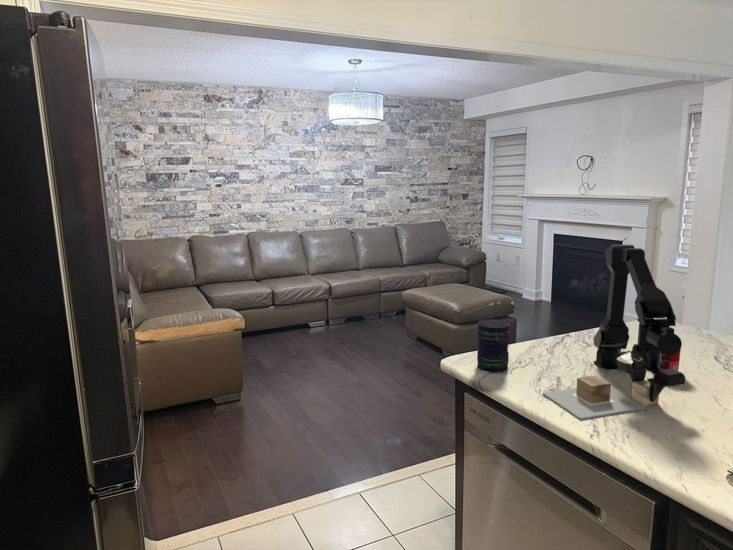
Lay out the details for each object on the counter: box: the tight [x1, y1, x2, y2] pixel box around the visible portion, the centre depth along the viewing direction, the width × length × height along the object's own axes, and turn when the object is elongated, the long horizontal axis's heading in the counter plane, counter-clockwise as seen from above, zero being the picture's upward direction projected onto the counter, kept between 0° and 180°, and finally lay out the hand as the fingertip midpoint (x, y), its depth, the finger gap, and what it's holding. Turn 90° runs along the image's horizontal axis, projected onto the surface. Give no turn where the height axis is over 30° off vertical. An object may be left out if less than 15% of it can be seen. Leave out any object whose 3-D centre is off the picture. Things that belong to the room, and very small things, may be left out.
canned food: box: [659, 348, 682, 371], centre depth 156 cm, size 8×8×11 cm
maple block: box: [630, 379, 660, 407], centre depth 137 cm, size 4×4×5 cm
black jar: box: [476, 318, 510, 374], centre depth 162 cm, size 10×10×15 cm
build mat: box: [542, 387, 647, 421], centre depth 138 cm, size 20×16×1 cm
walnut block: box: [576, 374, 612, 404], centre depth 138 cm, size 6×6×5 cm
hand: (644, 397), depth 137 cm, fingers closed on maple block, 4 cm apart
